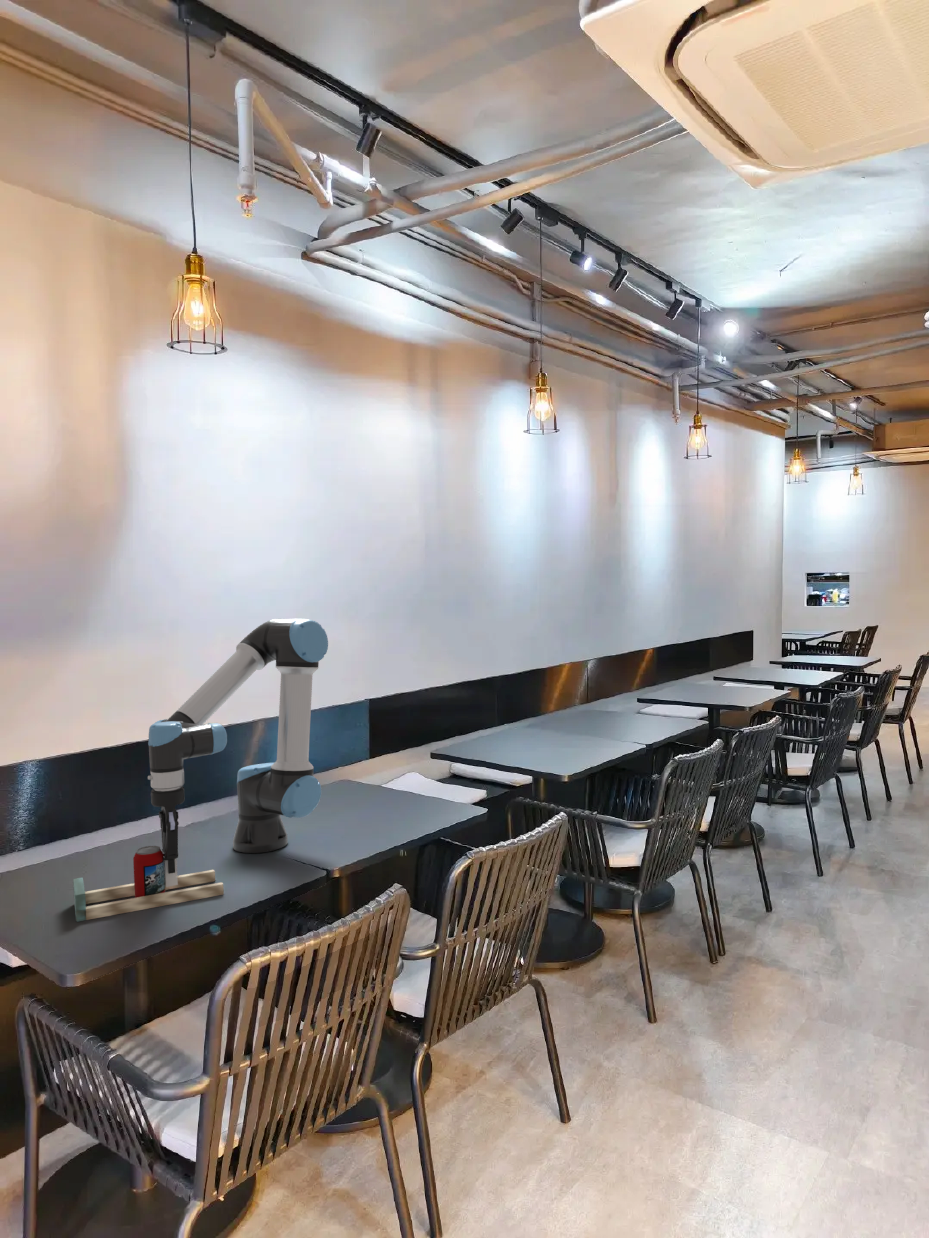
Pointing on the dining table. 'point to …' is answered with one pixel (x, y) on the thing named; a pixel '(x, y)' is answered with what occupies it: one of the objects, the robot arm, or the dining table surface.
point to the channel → (141, 902)
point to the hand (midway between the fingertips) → (171, 884)
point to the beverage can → (148, 871)
